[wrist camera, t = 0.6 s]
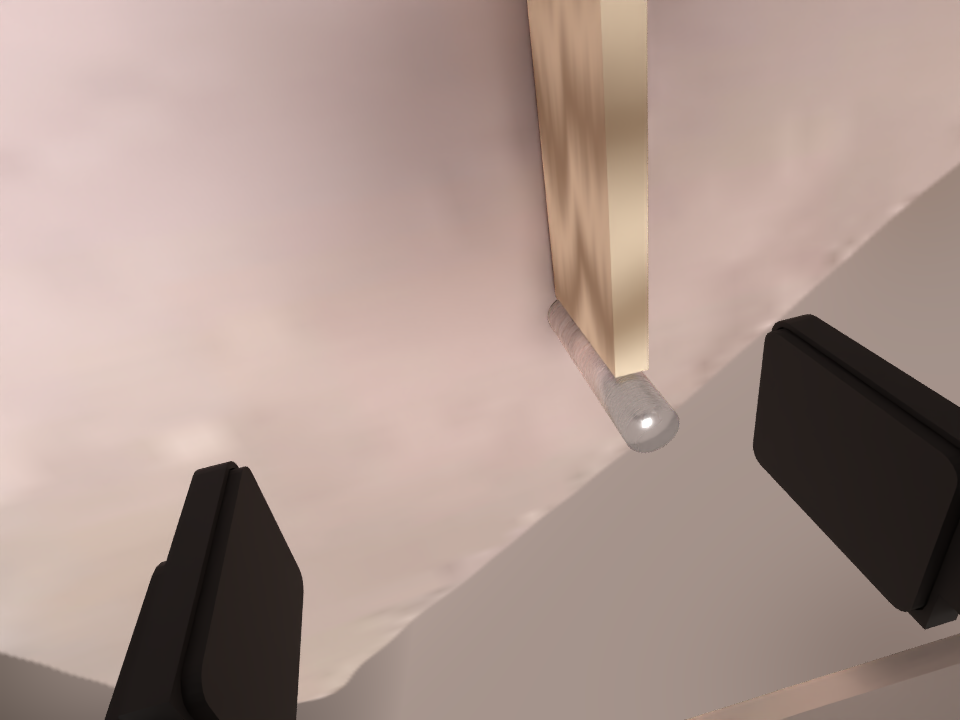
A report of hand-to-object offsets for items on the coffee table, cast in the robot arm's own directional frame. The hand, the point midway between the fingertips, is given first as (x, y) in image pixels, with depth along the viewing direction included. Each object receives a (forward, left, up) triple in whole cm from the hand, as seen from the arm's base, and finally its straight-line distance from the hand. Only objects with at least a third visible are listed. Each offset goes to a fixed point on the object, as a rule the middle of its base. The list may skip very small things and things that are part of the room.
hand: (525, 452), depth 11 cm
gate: (-7, -2, -20) cm, 22 cm away
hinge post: (-7, +10, -21) cm, 24 cm away
